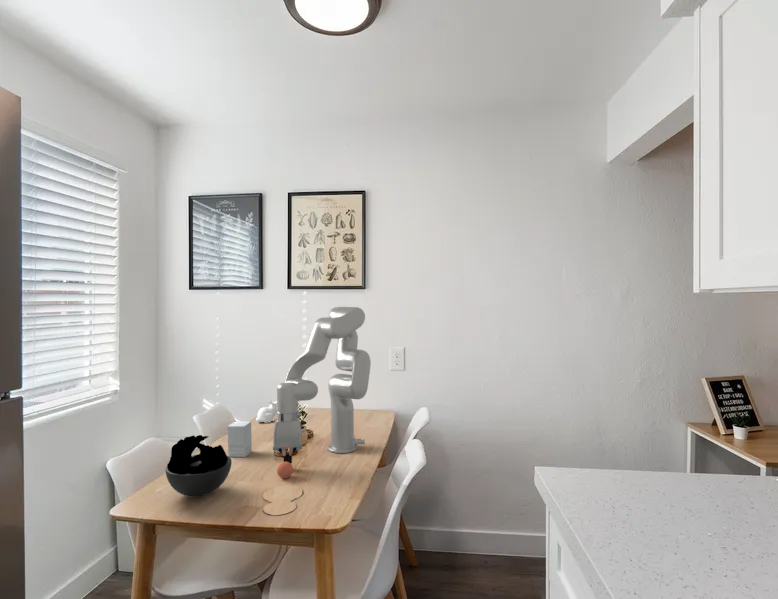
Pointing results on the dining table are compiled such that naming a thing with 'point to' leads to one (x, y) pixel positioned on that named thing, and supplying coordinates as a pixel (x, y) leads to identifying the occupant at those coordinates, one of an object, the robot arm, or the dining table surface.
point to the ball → (285, 469)
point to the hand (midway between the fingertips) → (287, 465)
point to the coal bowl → (197, 467)
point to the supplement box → (239, 439)
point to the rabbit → (267, 412)
